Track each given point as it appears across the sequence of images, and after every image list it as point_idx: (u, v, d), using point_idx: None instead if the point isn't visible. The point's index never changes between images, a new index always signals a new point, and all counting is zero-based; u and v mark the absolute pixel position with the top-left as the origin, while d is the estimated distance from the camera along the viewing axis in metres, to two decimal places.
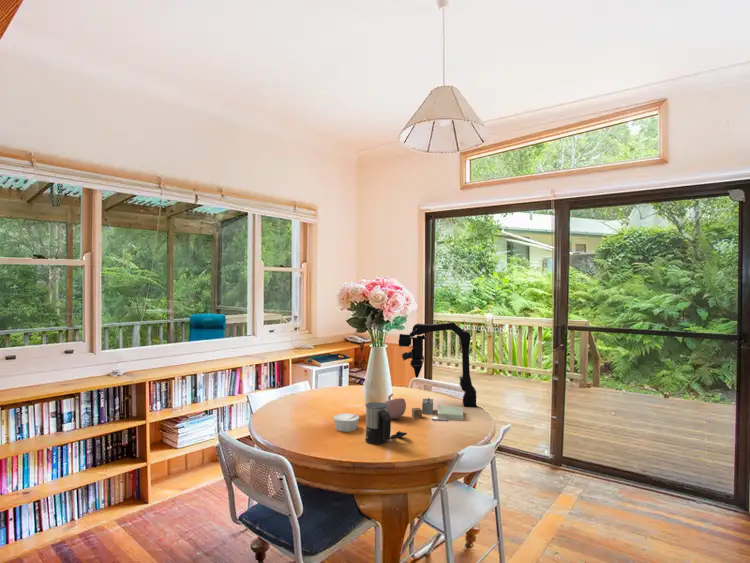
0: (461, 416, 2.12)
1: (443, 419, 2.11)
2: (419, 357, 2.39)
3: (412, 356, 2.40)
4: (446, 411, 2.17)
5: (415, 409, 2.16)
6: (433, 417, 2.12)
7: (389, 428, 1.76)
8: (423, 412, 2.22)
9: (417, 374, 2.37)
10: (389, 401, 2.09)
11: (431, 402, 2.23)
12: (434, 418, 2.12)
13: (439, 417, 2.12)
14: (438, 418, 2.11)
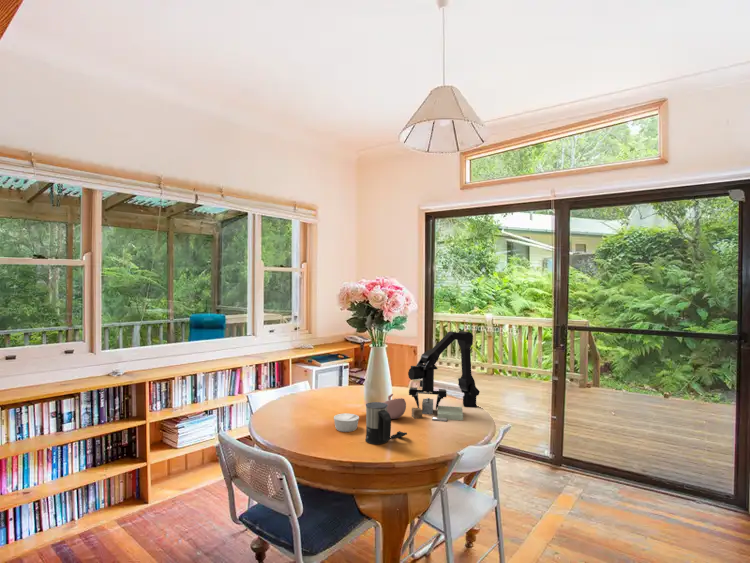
0: (461, 416, 2.12)
1: (443, 420, 2.11)
2: (422, 388, 2.25)
3: None
4: (446, 411, 2.17)
5: (415, 409, 2.16)
6: (433, 418, 2.11)
7: (389, 428, 1.76)
8: (423, 412, 2.22)
9: (417, 405, 2.26)
10: (389, 401, 2.09)
11: (431, 402, 2.23)
12: (434, 419, 2.11)
13: (439, 418, 2.11)
14: (438, 419, 2.11)
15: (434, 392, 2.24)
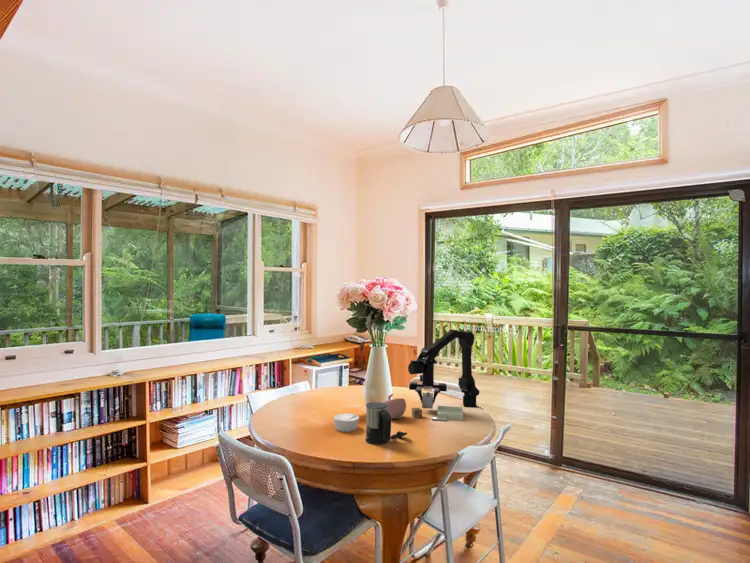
0: (461, 416, 2.12)
1: (443, 419, 2.11)
2: (422, 383, 2.25)
3: None
4: (446, 411, 2.17)
5: (415, 409, 2.16)
6: (433, 417, 2.12)
7: (389, 428, 1.76)
8: (423, 406, 2.22)
9: (420, 399, 2.26)
10: (389, 401, 2.09)
11: (431, 396, 2.23)
12: (434, 418, 2.11)
13: (439, 417, 2.12)
14: (438, 418, 2.11)
15: (434, 386, 2.24)
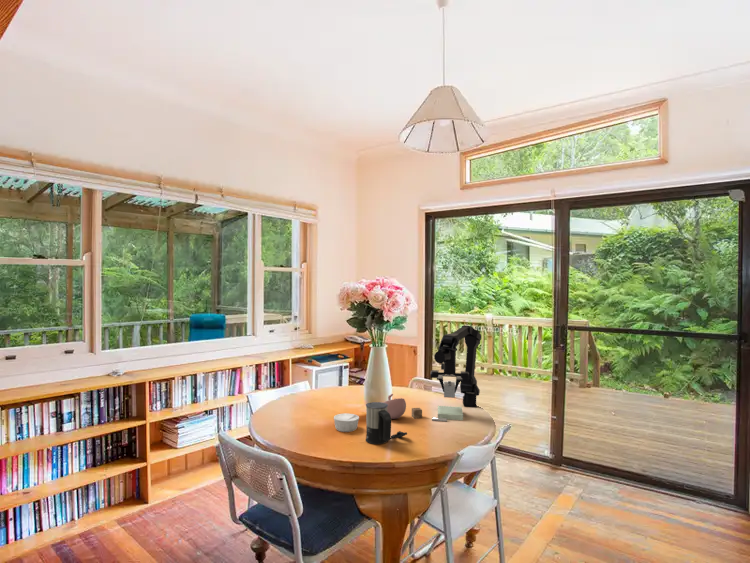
0: (461, 416, 2.12)
1: None
2: (444, 371, 2.19)
3: (443, 368, 2.23)
4: (446, 411, 2.17)
5: (415, 409, 2.16)
6: (433, 419, 2.11)
7: (389, 428, 1.76)
8: (445, 395, 2.16)
9: (442, 388, 2.20)
10: (389, 401, 2.09)
11: (453, 385, 2.18)
12: (434, 420, 2.11)
13: (439, 419, 2.10)
14: (438, 420, 2.10)
15: (456, 374, 2.19)
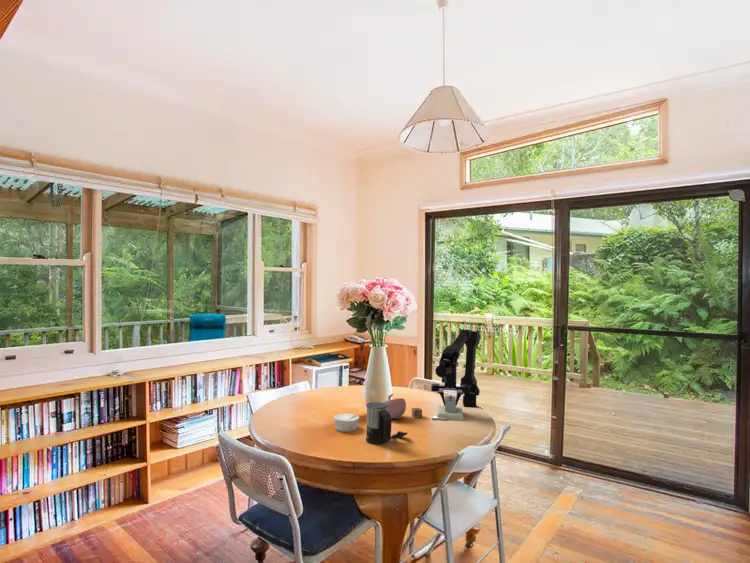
0: (461, 416, 2.12)
1: (443, 417, 2.12)
2: (445, 384, 2.19)
3: (444, 382, 2.23)
4: None
5: (415, 409, 2.16)
6: (433, 416, 2.14)
7: (390, 428, 1.76)
8: (446, 410, 2.16)
9: (443, 401, 2.20)
10: (389, 401, 2.09)
11: (454, 399, 2.17)
12: None
13: None
14: None
15: (457, 388, 2.19)
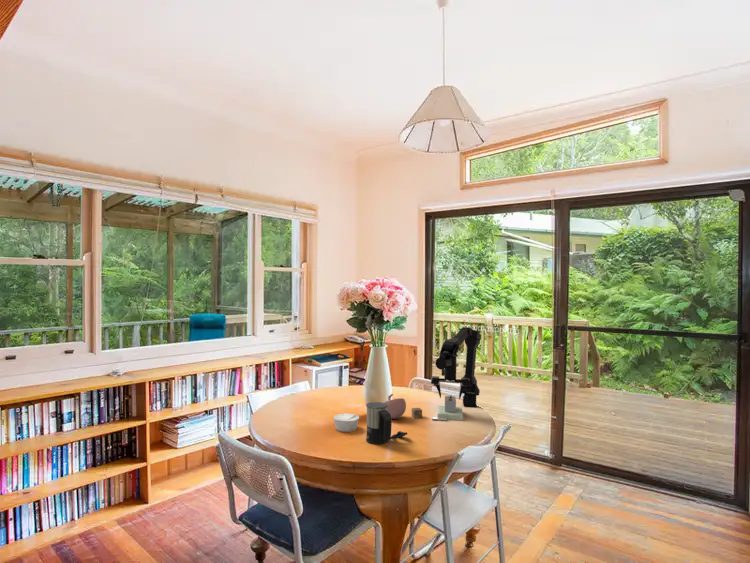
0: (461, 416, 2.12)
1: (443, 419, 2.11)
2: (445, 377, 2.19)
3: (444, 374, 2.23)
4: None
5: (415, 409, 2.16)
6: (433, 417, 2.12)
7: (390, 428, 1.76)
8: (446, 410, 2.16)
9: (439, 394, 2.20)
10: (389, 401, 2.09)
11: (454, 399, 2.17)
12: (434, 418, 2.12)
13: (439, 417, 2.12)
14: (438, 418, 2.11)
15: (457, 381, 2.19)
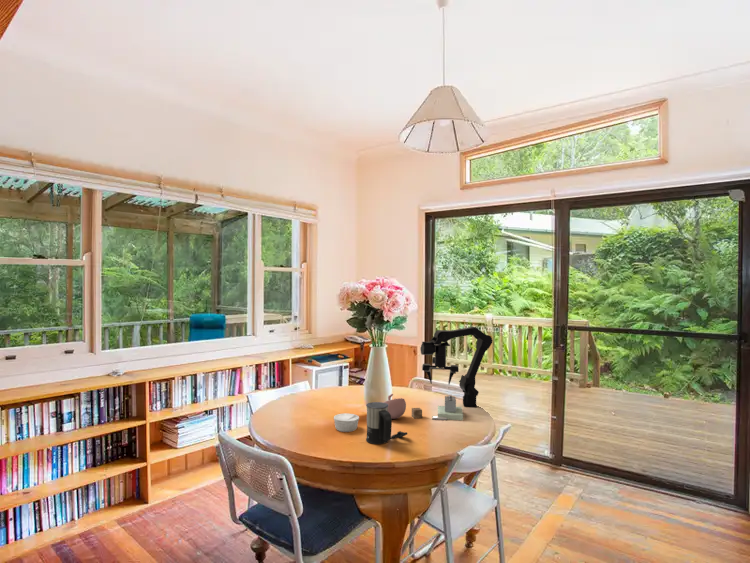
0: (461, 416, 2.12)
1: None
2: (435, 364, 2.34)
3: (434, 362, 2.37)
4: None
5: (415, 409, 2.16)
6: None
7: (390, 428, 1.76)
8: (446, 410, 2.16)
9: None
10: (389, 401, 2.09)
11: (454, 399, 2.17)
12: None
13: None
14: None
15: (446, 367, 2.34)
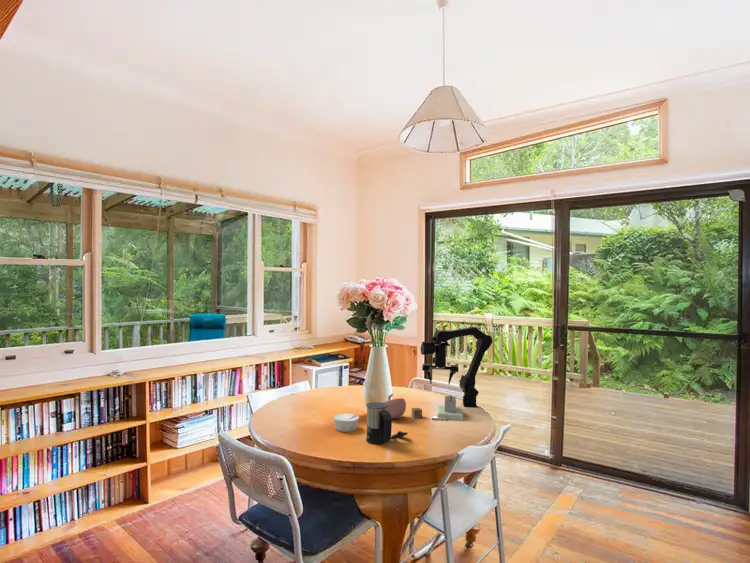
0: (461, 416, 2.12)
1: (443, 417, 2.12)
2: (435, 364, 2.34)
3: (434, 362, 2.37)
4: None
5: (415, 409, 2.16)
6: None
7: (390, 428, 1.76)
8: (446, 410, 2.16)
9: None
10: (389, 401, 2.09)
11: (454, 399, 2.17)
12: None
13: None
14: None
15: (446, 367, 2.34)
